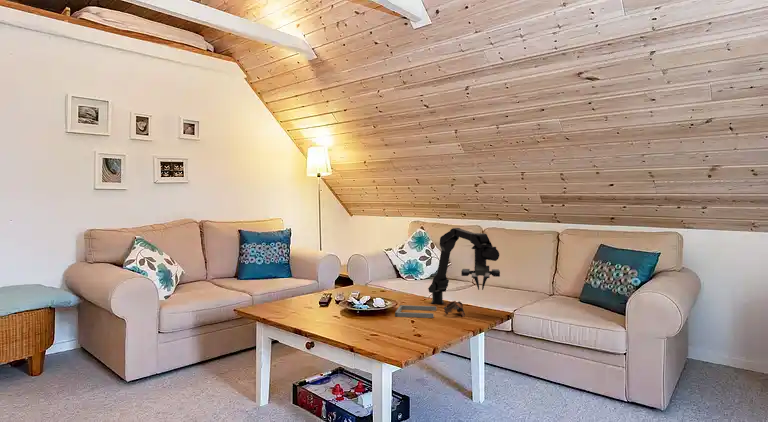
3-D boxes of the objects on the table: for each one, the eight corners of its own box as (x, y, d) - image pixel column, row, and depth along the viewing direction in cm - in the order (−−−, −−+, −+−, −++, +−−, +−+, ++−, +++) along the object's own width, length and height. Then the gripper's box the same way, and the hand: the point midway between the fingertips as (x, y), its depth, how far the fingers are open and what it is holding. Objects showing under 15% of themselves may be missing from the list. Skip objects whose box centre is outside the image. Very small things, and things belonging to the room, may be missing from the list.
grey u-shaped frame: (400, 308, 267) (400, 305, 267) (436, 310, 263) (436, 306, 263) (395, 316, 251) (394, 312, 251) (433, 317, 247) (433, 313, 247)
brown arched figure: (462, 319, 245) (454, 305, 245) (447, 325, 251) (439, 311, 250) (470, 308, 255) (462, 294, 255) (456, 314, 261) (447, 300, 261)
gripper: (460, 260, 243) (461, 292, 244) (500, 261, 240) (500, 293, 240) (461, 257, 254) (462, 288, 255) (499, 258, 251) (499, 289, 251)
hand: (480, 289), depth 250 cm, fingers closed
